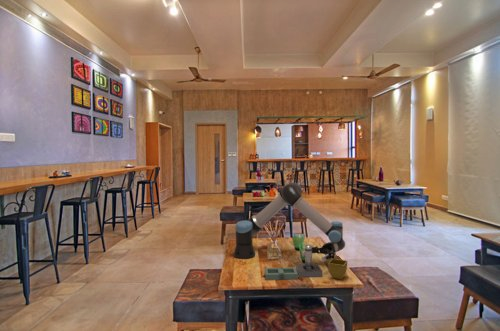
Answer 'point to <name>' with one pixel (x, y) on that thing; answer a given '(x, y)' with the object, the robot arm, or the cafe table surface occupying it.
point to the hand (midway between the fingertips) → (312, 256)
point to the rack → (281, 273)
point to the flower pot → (337, 268)
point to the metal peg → (308, 257)
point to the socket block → (309, 271)
